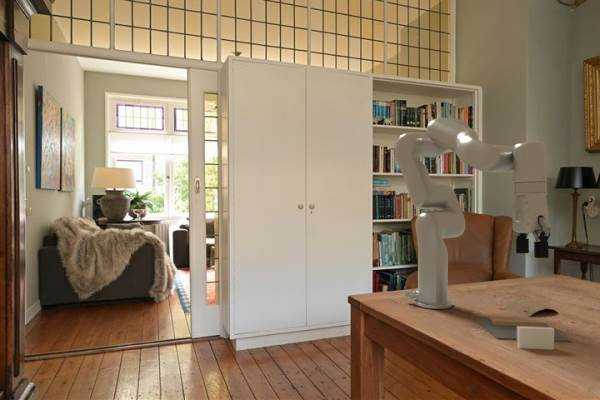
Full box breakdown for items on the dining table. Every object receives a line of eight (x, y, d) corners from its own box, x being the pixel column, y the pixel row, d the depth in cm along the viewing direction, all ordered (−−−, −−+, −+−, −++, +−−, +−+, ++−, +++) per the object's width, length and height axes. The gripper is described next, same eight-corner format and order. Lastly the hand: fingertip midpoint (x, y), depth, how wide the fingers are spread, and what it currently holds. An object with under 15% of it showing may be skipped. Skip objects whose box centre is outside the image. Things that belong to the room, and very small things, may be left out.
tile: (519, 348, 99) (519, 328, 99) (516, 346, 101) (516, 325, 101) (553, 349, 98) (554, 329, 98) (550, 347, 100) (550, 327, 100)
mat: (497, 339, 105) (497, 332, 105) (476, 319, 121) (476, 314, 121) (570, 341, 103) (570, 335, 103) (539, 321, 119) (539, 316, 119)
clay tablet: (533, 306, 138) (533, 298, 138) (562, 314, 129) (562, 305, 129) (501, 310, 133) (501, 302, 133) (528, 319, 124) (528, 310, 124)
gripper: (501, 191, 115) (502, 251, 115) (531, 188, 98) (533, 259, 98) (528, 190, 115) (529, 251, 115) (564, 188, 98) (566, 259, 97)
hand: (531, 255), depth 106 cm, fingers open, 9 cm apart
